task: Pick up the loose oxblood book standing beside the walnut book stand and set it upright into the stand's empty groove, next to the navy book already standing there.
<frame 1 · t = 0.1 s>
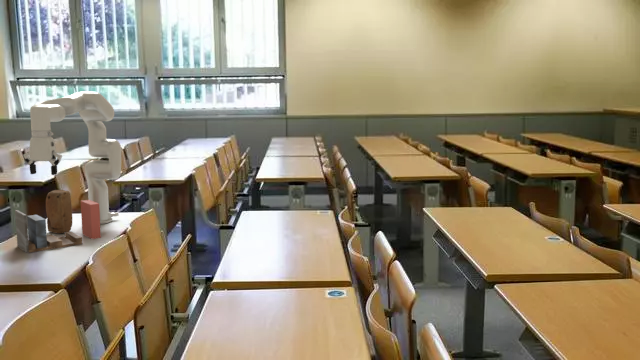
hand: (43, 174, 260), 31 cm above the table, tool pointing down, fingers open, 9 cm apart
book: (91, 235, 280), on the table
book stand: (51, 244, 264), on the table
block: (59, 232, 286), on the table
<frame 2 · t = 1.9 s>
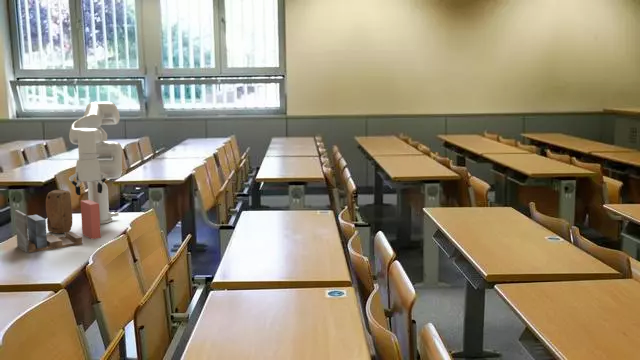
hand: (89, 193, 276), 20 cm above the table, tool pointing down, fingers open, 9 cm apart
nothing on the table moved.
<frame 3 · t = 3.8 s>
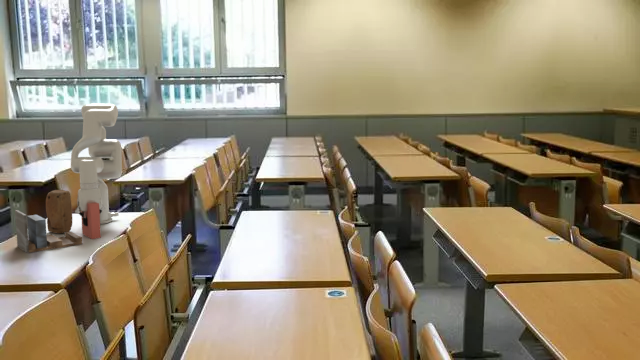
hand: (90, 224, 279), 5 cm above the table, tool pointing down, fingers closed on book, 4 cm apart
book: (91, 235, 280), on the table, touching gripper
everything else where it was.
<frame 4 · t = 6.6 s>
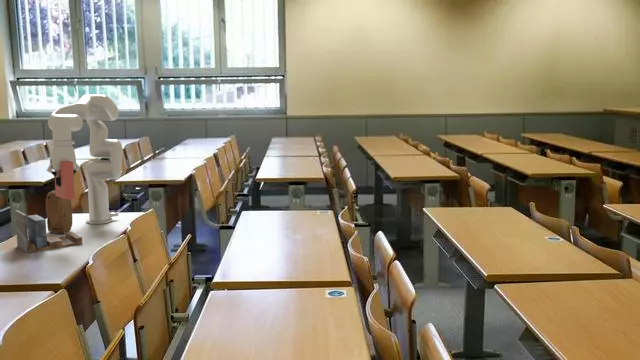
hand: (64, 185, 264), 26 cm above the table, tool pointing down, fingers closed on book, 4 cm apart
book: (65, 197, 265), point 20 cm above the table, touching gripper
everything else where it was.
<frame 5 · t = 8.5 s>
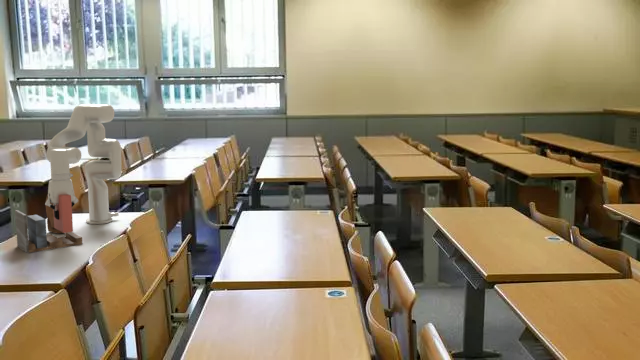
hand: (62, 217, 265), 11 cm above the table, tool pointing down, fingers closed on book, 4 cm apart
book: (63, 229, 266), point 6 cm above the table, touching gripper
everything else where it was.
when the fingers open (7 cm above the table, at t = 9.7 s): book stays where it is, resting on book stand.
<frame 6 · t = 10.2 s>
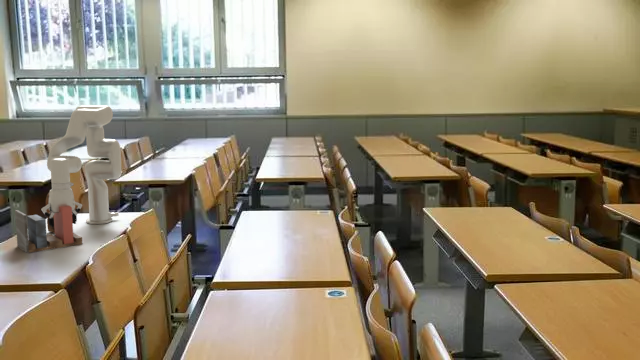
hand: (63, 224, 266), 8 cm above the table, tool pointing down, fingers open, 9 cm apart
book: (64, 240, 267), point 1 cm above the table, touching book stand
everything else where it was.
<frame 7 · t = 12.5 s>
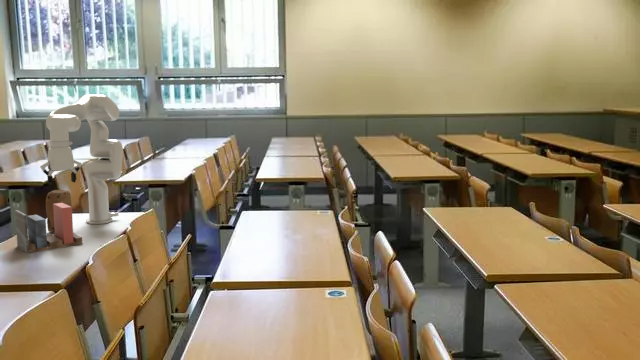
hand: (62, 183, 266), 26 cm above the table, tool pointing down, fingers open, 9 cm apart
nothing on the table moved.
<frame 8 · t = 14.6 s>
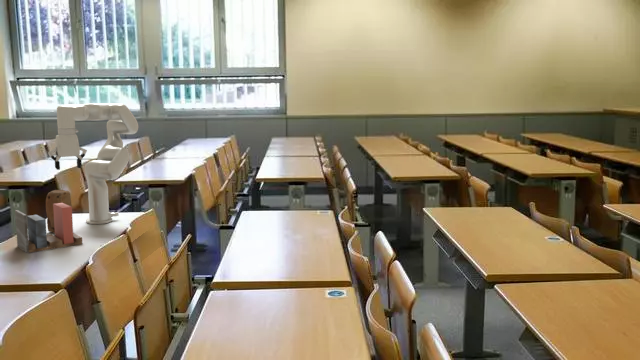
hand: (68, 168, 283), 30 cm above the table, tool pointing down, fingers open, 9 cm apart
nothing on the table moved.
at the end: book 0.1 cm from the target spot on the book stand, point 1.0 cm above the book stand's base; book tilted 0° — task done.
